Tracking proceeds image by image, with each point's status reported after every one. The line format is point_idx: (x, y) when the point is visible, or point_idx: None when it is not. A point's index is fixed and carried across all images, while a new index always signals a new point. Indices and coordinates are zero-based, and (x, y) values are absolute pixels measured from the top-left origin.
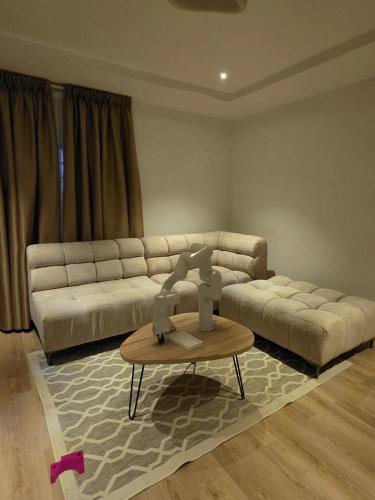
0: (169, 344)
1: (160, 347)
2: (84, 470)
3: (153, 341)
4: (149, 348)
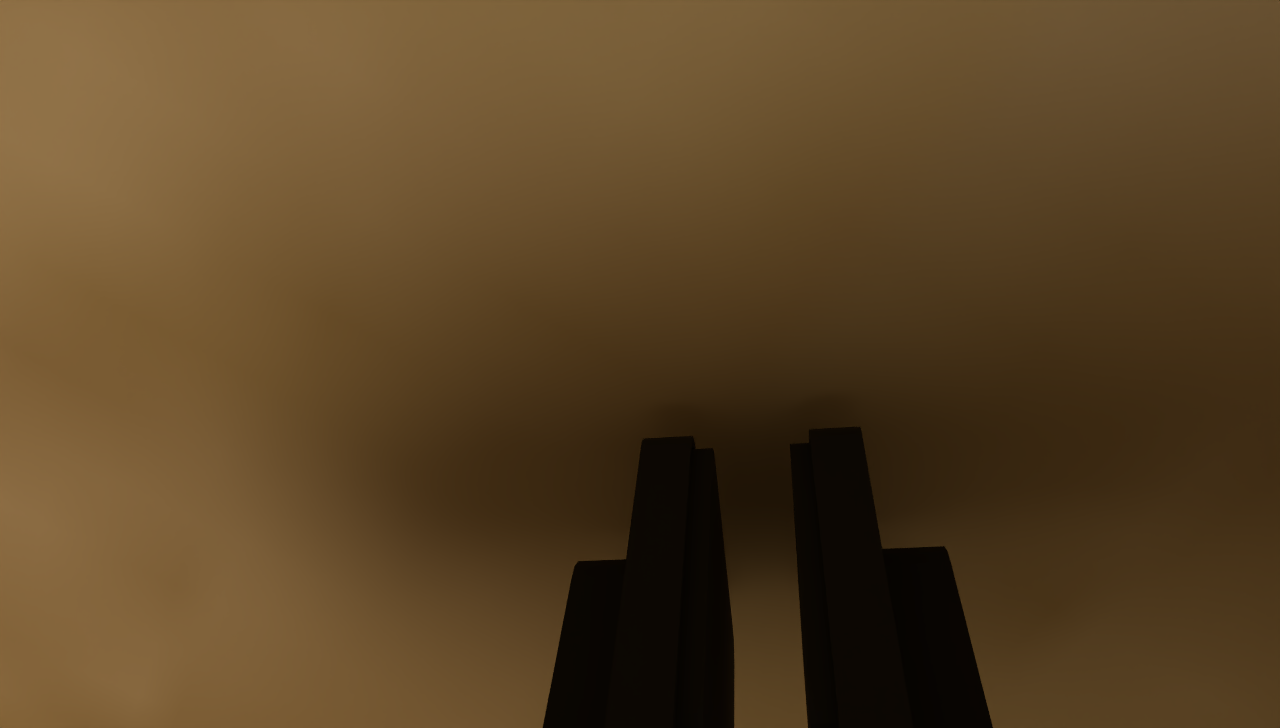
0: (1046, 721)
1: None
2: None
3: (500, 37)
4: (80, 555)
